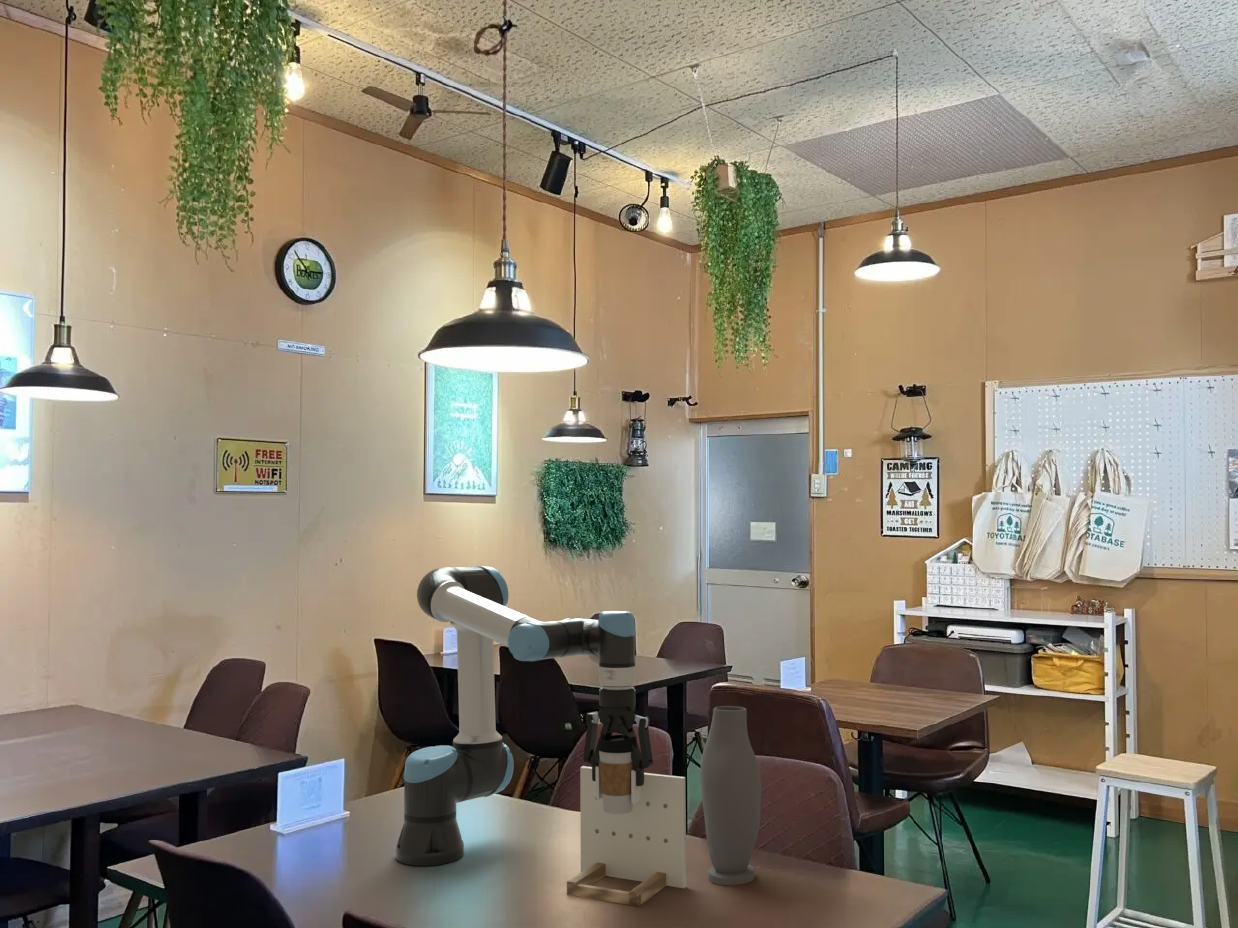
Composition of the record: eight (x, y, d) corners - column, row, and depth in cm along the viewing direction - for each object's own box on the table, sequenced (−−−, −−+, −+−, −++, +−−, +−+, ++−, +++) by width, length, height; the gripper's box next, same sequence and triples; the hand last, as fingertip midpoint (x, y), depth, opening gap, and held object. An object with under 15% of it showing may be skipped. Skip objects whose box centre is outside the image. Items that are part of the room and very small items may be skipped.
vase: (744, 891, 206) (743, 714, 210) (688, 880, 213) (687, 709, 216) (771, 874, 217) (769, 706, 221) (716, 864, 224) (715, 702, 228)
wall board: (580, 871, 219) (580, 767, 221) (583, 869, 220) (583, 766, 222) (684, 888, 208) (682, 778, 210) (686, 886, 210) (685, 777, 211)
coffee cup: (634, 816, 204) (633, 740, 206) (593, 814, 206) (592, 739, 207) (641, 805, 213) (641, 732, 214) (602, 803, 214) (601, 731, 215)
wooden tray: (566, 893, 206) (566, 881, 206) (597, 874, 217) (597, 862, 217) (638, 906, 198) (638, 892, 199) (666, 885, 210) (666, 872, 210)
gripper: (565, 686, 212) (565, 798, 211) (654, 692, 203) (655, 809, 202) (582, 681, 219) (583, 790, 218) (669, 687, 210) (670, 800, 208)
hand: (617, 799), depth 210 cm, fingers closed on coffee cup, 7 cm apart
